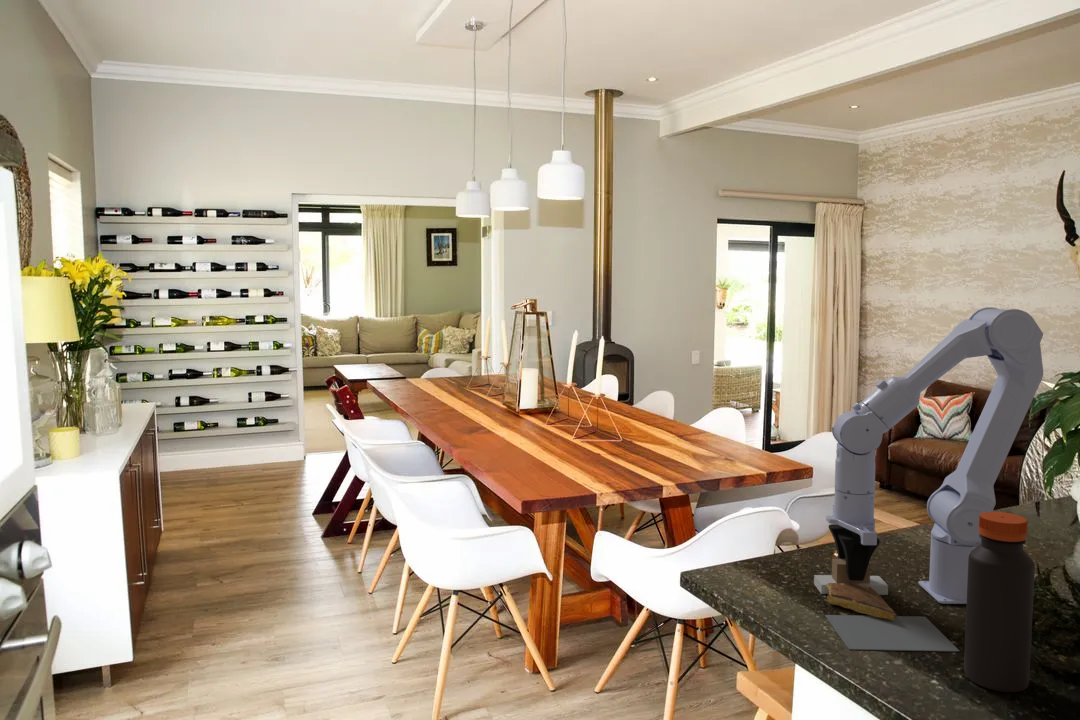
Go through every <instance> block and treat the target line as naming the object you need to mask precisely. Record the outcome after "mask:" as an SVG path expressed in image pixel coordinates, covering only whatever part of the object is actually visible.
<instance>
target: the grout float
mask: <svg viewBox="0 0 1080 720" xmlns="http://www.w3.org/2000/svg"><path fill="white" fill-rule="evenodd" d="M813 576H814V577H813V584H814V586H815V587H816V588H817V590H818V591H819V593H820V594H821V595H829V589H828V588H827V586H826V584H828V583H852V584H859V585H863V586H867V587H871V588H872V589H873V590H874V591H876V592H877V593H878V594H879V595H880V596H888V595H889V584H887V583H886V582H885V581H884V580H883V579H882V578H881V576H879V575H871V563H869V564H868V567H867V571H866V574H865V577H864V580H863V581H855V580H849V578H848V575H847V568H846V559H839V558H832V559H831V574H814V575H813Z"/></svg>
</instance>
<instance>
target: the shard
mask: <svg viewBox="0 0 1080 720" xmlns="http://www.w3.org/2000/svg"><path fill="white" fill-rule="evenodd" d="M826 586H827V588H828V589H829V594H826V595H827V596H826V599H827V602H828V603H830V605H833V606H840V607H842V608H844V609H848V610H852V611H855V612H856V613H860V614H863V615H867V616H874V617H878V618H885V619H889V620H892V621H894V620H895V616H898V614H897V612H895V611H894V610H893V608H892V607H890V606H889V604H888V603H887V602H886V601H885V600H884V598H883V597H882V595H879V594H878V593H877V592H876V591H874V590H873V589H872V588H871V587H867V586H863V585H859V584H852V583H828V584H826Z"/></svg>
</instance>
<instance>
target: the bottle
mask: <svg viewBox="0 0 1080 720" xmlns="http://www.w3.org/2000/svg"><path fill="white" fill-rule="evenodd" d="M1028 523H1029V522H1028V519H1027V518H1025V517H1023V516H1021V515H1018V514H1015V513H1010V512H1003V511H993V512H984V513H981V514H980V515H979V533H980V534H979V537H980V538H981V544H980V545H979V546H977V547H976V548H975V549H973V550H972V551H971V552H970V554H969V557H968V581H967V604H965V605H966V610H965V613H966V614H965V632H964V633H965V634H964V653H963V654H964V657H963V671H964V675H965V676H966V677H967V678H968V679H969V680H970V681H971V682H973V683H974V684H976V685H978V686H981V687H982V688H985V689H988V690H992V691H995V692H1002V693H1018V692H1023V691H1024V690H1026V689H1027V688H1028V687H1029V685H1030V684H1029V683H1030V672H1031V671H1030V669H1031V668H1030V667H1031V649H1032V632H1033V630H1032V628H1033V627H1032V626H1033V611H1034V608H1033V607H1034V592H1035V591H1034V588H1035V574H1036V573H1035V571H1036V564H1035V562H1034V561H1033V559H1032V558H1031V556H1030V555H1029V554H1027V552H1026V551H1025V550H1024V545H1025V544H1027V543H1026V542H1027V539H1028V538H1027V536H1028Z"/></svg>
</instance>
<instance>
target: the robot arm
mask: <svg viewBox="0 0 1080 720" xmlns="http://www.w3.org/2000/svg"><path fill="white" fill-rule="evenodd" d="M1043 337H1044V332H1043V330H1042V329H1041V328H1040V326H1039V325H1038V324H1037V322H1036V320H1035V319H1034V318H1033V316H1032V315H1031V314H1030V313H1028V312H1027V311H1025V310H1022V309H1018V308H1010V309H1004V308H996V307H992V306H989V307H988V306H987V307H983V308H979V309H977V310H976V311H974V312H973V313H972V314H971V315H970V316H969V317H968V319H967V318H966V319H964V320H963V321H961V322H960V323H958V324H957V325H956V326H955V327H954V328H953V329H952V330H951V331H950V333H949V334H947V335H946V336H945V337H944V338H943V339H942V340H941V341H940V342H939V343H938V344H937V345H936V346H935V347H934V348H933V349H932V350H930V351H929V352H928V353H927V354H926V355H924V357H923V358H922V359H921V360H919V362H917V364H916V365H914V366H913V367H912V368H911V369H910V370H909V371H908V372H907V373H906V374H905V375H904V376H890V377H888V378H887V379H886V380H884V379H880V380H878V381H877V382H876V383H875V386H876V387H877V388H876V389H874V390H873V391H872V392H871V393H870V394H869V395H867V396H866V397H865V398H864V399H862V400H861V401H860V402H859V403H858V402H855V403H853V404H852V405H851V408H852V409H853V410H850V411H845V412H843V413H841V414H840V415H839V416H838V417H837V418H836V419H835V421H834V424H833V427H831V433H832V436H833V438H834V440H835V441H836V450H835V452H836V458H835V462H834V463H835V464H834V465H835V468H834V469H835V471H834V473H835V474H834V504H833V505H832V515H826V516H825V517H826V518H825V520H826V522H827V523H829V524H828V530H829V531H830V534H831V535H832V538H833V541H834V544H835V548H836V552H837V556H838V558H837V559H846V568H847V575H848V578H849V580H855V581H863V580H864V577H865V574H866V571H867V567H868V564H870V561H871V558H872V556H873V554H874V552H875V551H876V549H877V548H878V547H879V545H880V543H881V542H880V539H879V538H878V532H877V531H876V519H875V499H876V497H875V491H876V490H875V487H876V450H877V449H878V448H879V447H880V446H881V444H882V441H883V434H885V433H888V431H890V430H891V429H892V428H893V427H894V426H896V425H897V424H898V423H899V422H901V421H902V420H903V419H904V418H905V417H907V415H909V414H911V412H913V411H914V410H915V409H916V408H917V407H918V406H919V405H920V400H921V393H922V392H923V391H924V390H926V389H928V388H929V387H931V385H932V384H934V383H935V382H937V380H939V379H940V378H941V377H943V376H944V375H946V373H948V372H949V371H951V370H952V369H954V367H956V366H957V365H959V364H960V363H961V362H962V361H964V360H965V359H969V358H970V359H971V358H977V357H979V358H980V357H985V356H986V357H987V359H988V360H989V361H990V363H991V365H992V367H993V368H994V370H995V372H996V373H997V378H996V379H995V382H994V385H993V386H992V388H991V391H990V393H989V395H988V397H987V400H986V402H985V405H984V407H983V409H982V411H981V414H980V416H979V418H978V420H977V422H976V424H975V426H974V429H973V430H972V433H971V436H970V437H969V440H968V443H967V444H966V447H965V449H964V452H963V453H962V456H961V458H960V460H959V462H958V465H957V467H956V469H955V470H953V471H952V472H951V473H950V474H948V475H947V476H946V477H945V478H944V480H943V482H942V484H941V486H940V487H939V488H938V489H936V490H935V491H934V492H933V493H932V494H931V495H930V496H929V497H928V500H927V502H926V511H927V514H928V516H929V518H930V519H931V520H932V521H933V523H934V524H933V527H932V529H931V531H930V552H929V553H930V554H929V555H930V556H929V578H928V579H929V580H919V581H918V582H917V583H918V585H919V586H920V587H921V588H922V589H924V590H925V591H926V592H927V593H928V594H929V595H930V596H931V597H932V598H934V599H935V600H936V601H937V602H938V603H939V604H947V605H948V604H949V605H952V604H953V605H958V604H959V605H967V581H968V557H969V554H970V552H971V551H972V550H973V549H975V548H976V547H977V546H979V545H980V544H981V538H980V537H979V534H980V533H979V515H980V514H981V513H984V512H994V508H995V507H996V495H995V489H994V485H995V483H996V480H997V479H998V476H999V474H1000V472H1001V470H1002V467H1003V465H1004V463H1005V461H1006V460H1007V459H1006V458H1007V457H1008V455H1009V452H1010V450H1011V448H1012V445H1013V443H1014V441H1015V439H1016V437H1017V434H1018V432H1019V431H1020V428H1021V426H1022V423H1023V421H1024V419H1025V417H1026V415H1027V413H1028V411H1029V409H1030V406H1031V404H1032V402H1033V400H1034V398H1035V397H1036V396H1035V395H1036V393H1037V392H1038V388H1039V386H1040V384H1041V382H1042V380H1043V378H1044V377H1043V376H1044V367H1043V366H1044V365H1043V357H1042V356H1043V355H1042V347H1041V341H1042V340H1043Z"/></svg>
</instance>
